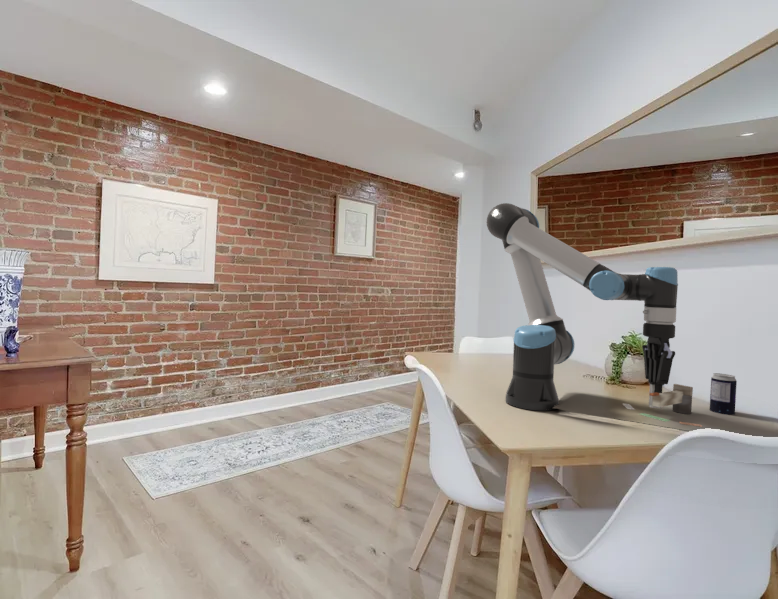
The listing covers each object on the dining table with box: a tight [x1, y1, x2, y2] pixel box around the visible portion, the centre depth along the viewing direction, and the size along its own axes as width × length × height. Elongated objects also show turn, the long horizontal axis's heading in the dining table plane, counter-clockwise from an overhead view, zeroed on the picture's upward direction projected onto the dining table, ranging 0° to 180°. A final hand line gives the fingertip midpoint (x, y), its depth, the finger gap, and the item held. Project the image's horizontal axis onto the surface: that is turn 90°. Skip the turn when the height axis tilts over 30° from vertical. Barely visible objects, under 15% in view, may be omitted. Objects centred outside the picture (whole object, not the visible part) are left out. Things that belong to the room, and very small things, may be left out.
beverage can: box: [709, 373, 738, 416], centre depth 121 cm, size 6×6×12 cm
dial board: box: [613, 403, 703, 432], centre depth 117 cm, size 20×18×1 cm
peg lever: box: [648, 383, 694, 415], centre depth 116 cm, size 18×4×7 cm, turn 120°
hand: (655, 407), depth 118 cm, fingers closed
